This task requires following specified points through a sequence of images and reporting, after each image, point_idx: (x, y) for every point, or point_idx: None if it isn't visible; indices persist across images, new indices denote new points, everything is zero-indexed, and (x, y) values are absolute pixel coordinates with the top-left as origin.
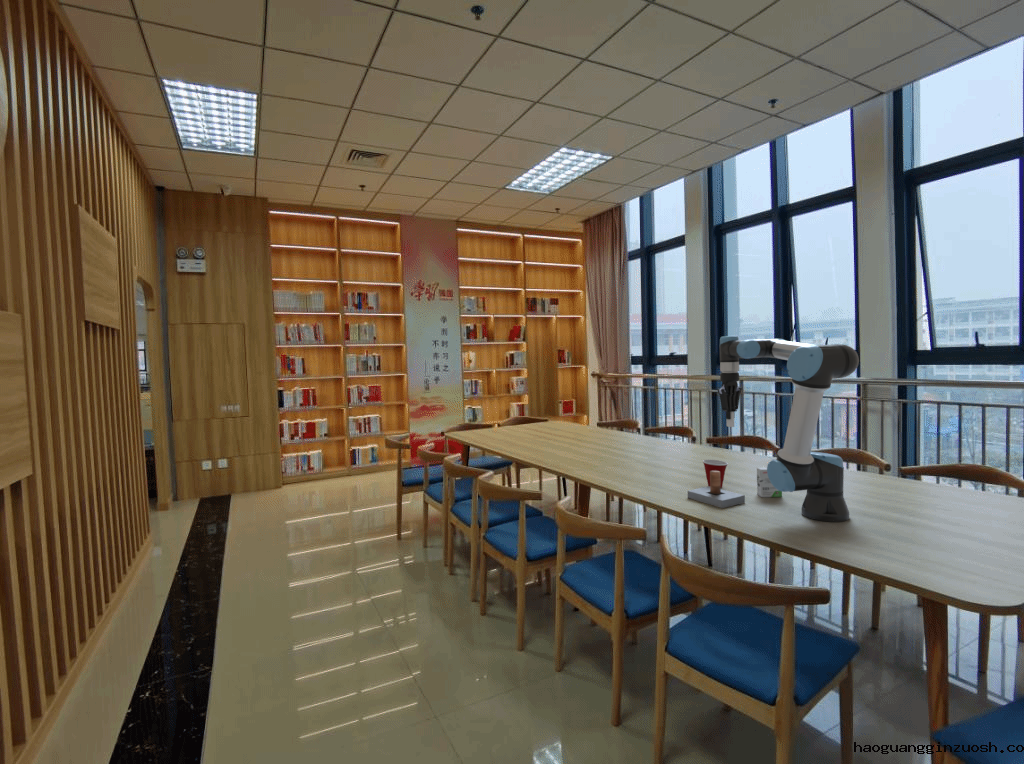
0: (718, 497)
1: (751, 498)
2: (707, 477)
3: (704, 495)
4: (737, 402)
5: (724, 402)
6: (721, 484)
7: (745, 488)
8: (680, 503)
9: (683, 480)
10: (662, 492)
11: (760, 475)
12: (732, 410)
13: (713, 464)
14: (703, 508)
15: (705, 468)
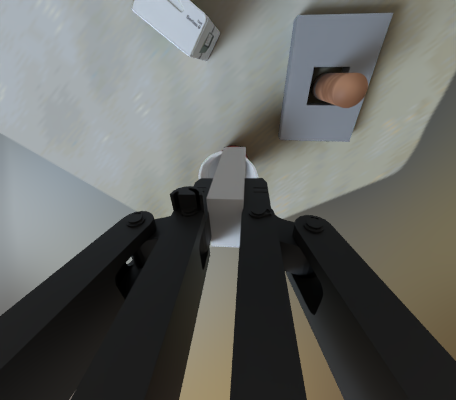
0: (365, 47)
1: (247, 40)
2: (248, 171)
3: None
4: (80, 281)
5: (421, 345)
6: (230, 146)
7: (191, 114)
8: (396, 115)
9: None
10: (337, 189)
11: (211, 21)
12: (205, 220)
13: (254, 166)
14: (411, 49)
15: None
